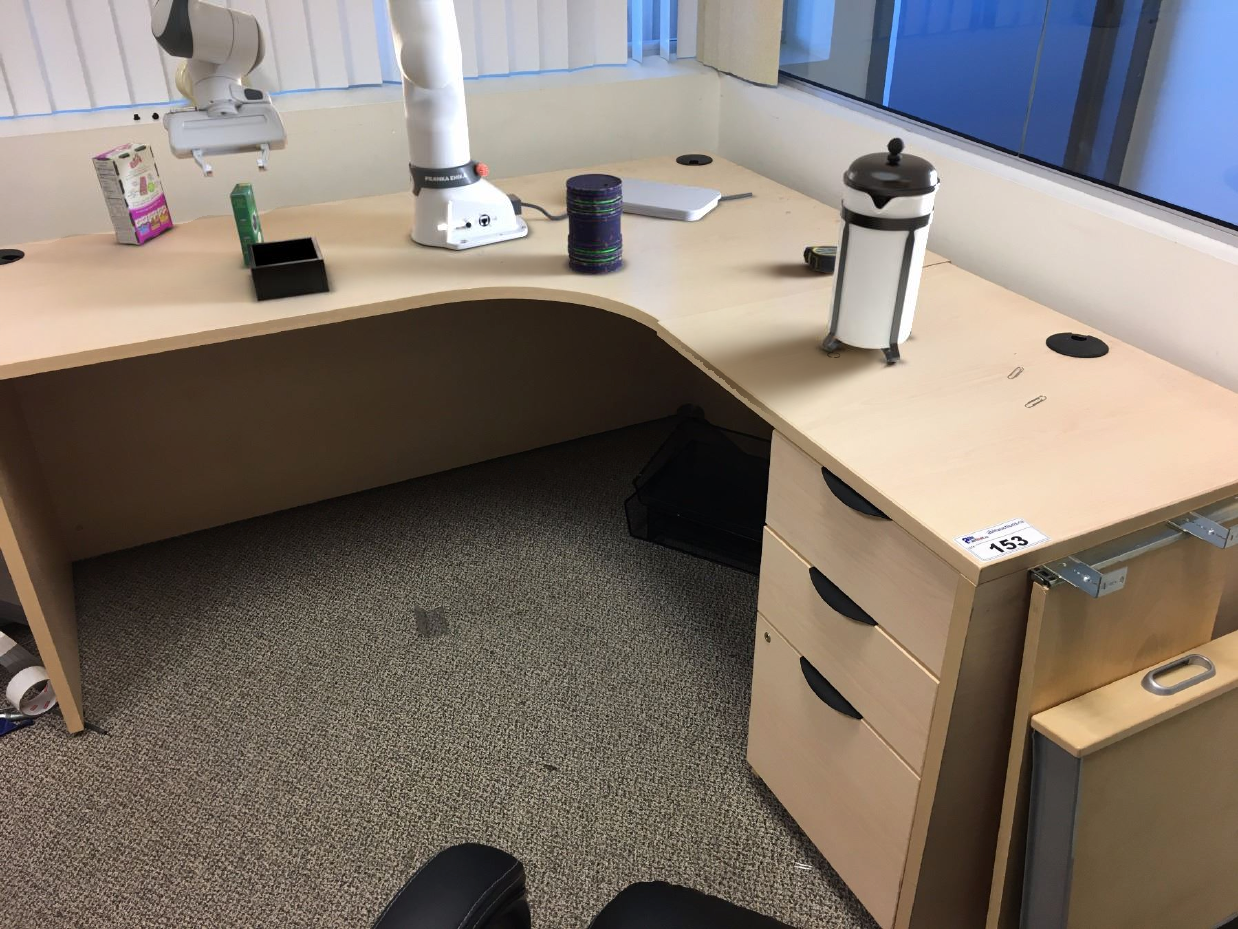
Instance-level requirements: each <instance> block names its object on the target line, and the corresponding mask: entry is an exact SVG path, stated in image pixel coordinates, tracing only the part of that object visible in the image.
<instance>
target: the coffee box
mask: <svg viewBox="0 0 1238 929" xmlns="http://www.w3.org/2000/svg"><path fill="white" fill-rule="evenodd" d="M229 199H230V203H231V207H232V212H233V216H234V220H235V225H236V231H237V234H238V238H239V242H240V247H241V248H240V249H241V252H242V256H243V262H244V266H245V267H246V268H250V263H249V257H248V252H247V246H246V244H253V243H261V242H265V240H264V235H263V232H262V231H263V230H262V226H261V222H260V217H259V212H258V208H257V203H256V199H255V195H254V191H253V185H252V183H251V182H242V183H241V182H240V183H236V184H235V186H234V187H233V188H232V191H231V193H229Z"/></svg>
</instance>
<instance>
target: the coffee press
mask: <svg viewBox="0 0 1238 929" xmlns="http://www.w3.org/2000/svg"><path fill="white" fill-rule="evenodd" d="M886 148H887V151H881V152H880V151H879V152H873V153H867V154H864V155H861V156H859V157H857V158H856V159H854V160H853V161H852V162H851V163H850V165H849V166H848V168H847V170H846V171H845V172H844V173H843V176H842V182H843V185H844V190H843V191H844V192H843V198H842V199H841V202H840V208H839V209H840V210H839V216H840V223H839V231H838V239H837V254H836V262H835V270H834V273H833V277H832V278H833V279H832V287H831V295H830V302H829V312H828V320H827V328H828V330H829V331H828V333H827V335H826V337H825V338H824V339H823V340H822V342H821V348H822V349H824V350H825V351H826V352H828V353H832V352H834V350H836V348H837V347H838V346H840V344H842V343H844V344H847V345H850V346H852V347H856V348H860V349H869V350H870V349H871V350H872V349H873V350H879V349H880V350H881V351H882V352H883V354H884V356H885V357H884V358H885V360H886V361H887V363H889V364H890V363H896V362H899V361H900V360H901V354H900V348H899V345H901V344H902V343H904V342H905V341H906V340H907V339H908V338H909V337H910V336H911V334H912V330H911V328H912V323H913V318H914V312H915V307H916V302H917V297H918V291H919V286H920V278H921V274H922V269H923V263H924V258H925V257H924V256H925V251H926V246H927V240H928V235H929V229H930V225H931V224H932V222H933V218H934V217H933V216H934V212H935V211H934V210H935V207H934V201H935V195H936V193H937V191H938V189H939V188H940V184H941V179H940V177H939V176H938V173H937V169H936V168H935V166H934V164H932V163H931V162H930V161H929V160H926V159H925V158H923V157H920V156H917V155H914V154H910V153H903V151H904V150H905V149H906V145H905V142H904V140H903V139H902V138H900V137H893V138H891V139H890V140H889V141H888V143H887V145H886ZM834 338H835V339H834Z"/></svg>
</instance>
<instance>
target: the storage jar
mask: <svg viewBox="0 0 1238 929" xmlns="http://www.w3.org/2000/svg"><path fill="white" fill-rule="evenodd" d="M620 178H621V177H618V176H615V175H613V174H612V175H611V174H604V173H586V174H585V173H584V174H579V175H578V174H577V175H574V176H570V177H568V179H566V181H565V187H566V190H565V194H566V196H565V205H566V210H565V211H566V214H568V216H569V217H568V235H567V253H568V254H567V255H568V268H569V269H570V270H572V271H573V272H576V273H579V274H583V275H591V276H592V275H594V276H595V275H597V276H598V275H606V274H612V273H614V272H617V271H620V269H621V268H622V267H623V260H622V258H623V250H624V247H623V245H624V244H623V241H624V240H623V233H622V214H623V212H622V210H623V208H622V203H623V196H622V189H621V187H622V180H621V179H620Z"/></svg>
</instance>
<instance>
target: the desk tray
mask: <svg viewBox="0 0 1238 929" xmlns="http://www.w3.org/2000/svg"><path fill="white" fill-rule="evenodd" d="M246 246H247V252H248V257H249V263H250V267H249V268H250V272H251V277H252V281H253V286H254V291H255V295H256V300H257V302H263V301H271V300H276V299H277V300H278V299H284V298H292V297H293V298H294V297H300V296H306V295H313V294H320V293H328V292H330V288H329V280H328V276H327V269H326V264H325V258H324V256H323V254H322V251H321V248H320V246H319V243H318V240H317V237H316V236H315V235H312V236H304V237H296V238H288V239H279V240H270V241H264V242H261V243H253V244H246Z"/></svg>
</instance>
